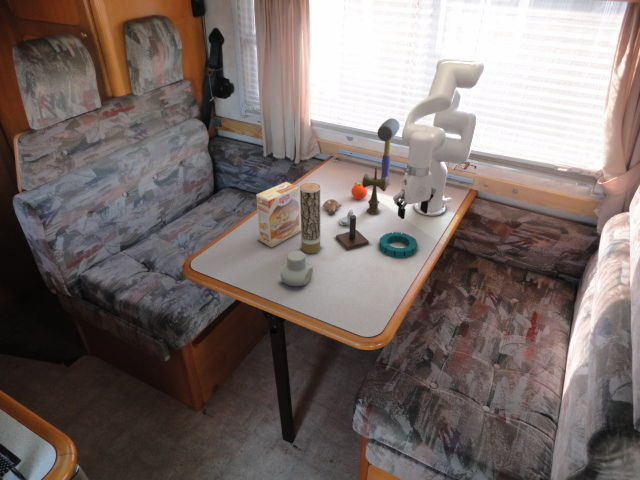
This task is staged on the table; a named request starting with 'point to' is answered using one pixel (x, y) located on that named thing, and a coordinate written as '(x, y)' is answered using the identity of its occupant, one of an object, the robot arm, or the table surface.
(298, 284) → the air freshener
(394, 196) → the robot arm
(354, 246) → the peg stand
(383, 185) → the kendama
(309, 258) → the table surface
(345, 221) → the pacifier
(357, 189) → the clementine
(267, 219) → the coffeecake box
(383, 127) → the rubber mallet
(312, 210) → the patterned cylinder
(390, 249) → the ring
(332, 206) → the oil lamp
